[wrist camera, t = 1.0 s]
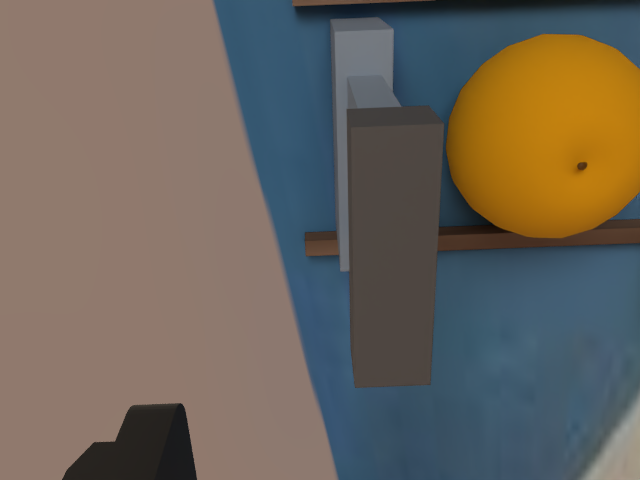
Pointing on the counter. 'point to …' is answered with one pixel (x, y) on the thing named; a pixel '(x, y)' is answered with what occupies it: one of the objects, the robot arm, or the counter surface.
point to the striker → (384, 207)
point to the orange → (548, 136)
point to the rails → (483, 233)
